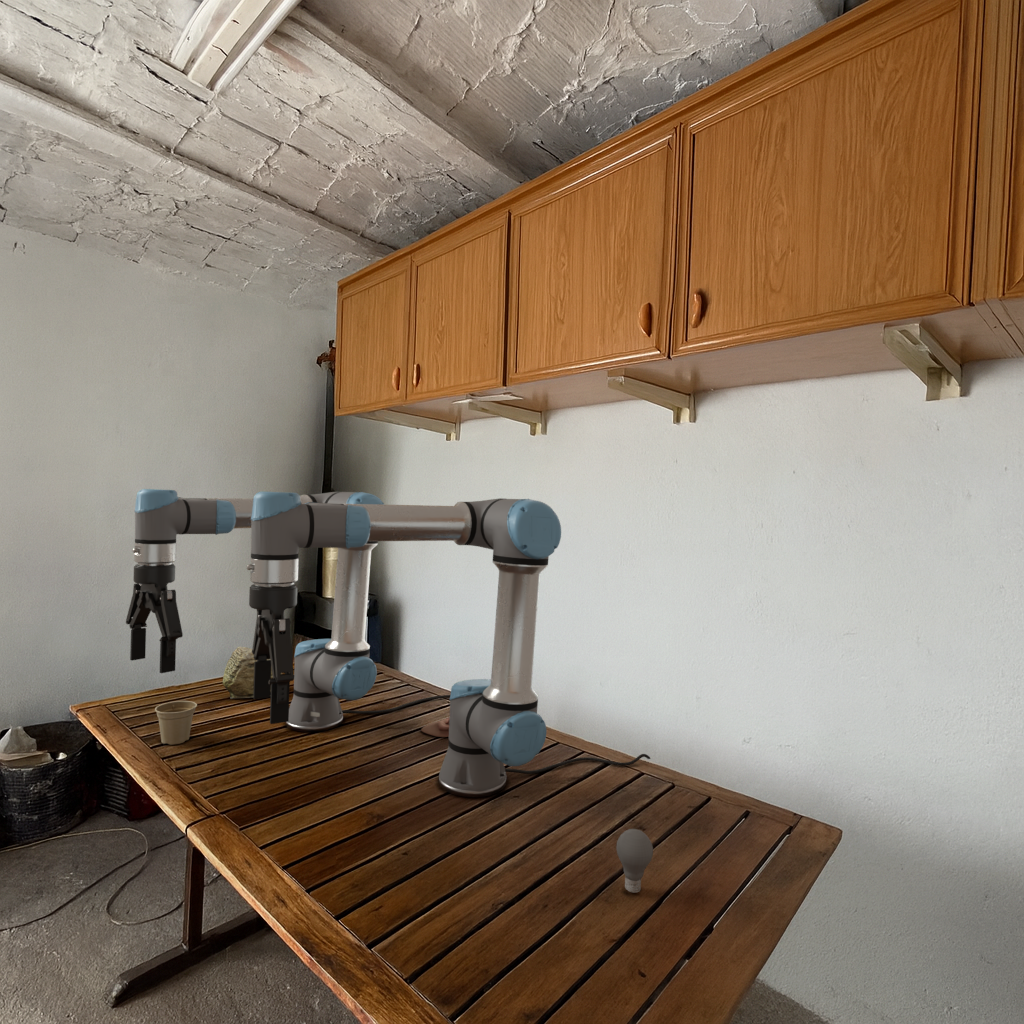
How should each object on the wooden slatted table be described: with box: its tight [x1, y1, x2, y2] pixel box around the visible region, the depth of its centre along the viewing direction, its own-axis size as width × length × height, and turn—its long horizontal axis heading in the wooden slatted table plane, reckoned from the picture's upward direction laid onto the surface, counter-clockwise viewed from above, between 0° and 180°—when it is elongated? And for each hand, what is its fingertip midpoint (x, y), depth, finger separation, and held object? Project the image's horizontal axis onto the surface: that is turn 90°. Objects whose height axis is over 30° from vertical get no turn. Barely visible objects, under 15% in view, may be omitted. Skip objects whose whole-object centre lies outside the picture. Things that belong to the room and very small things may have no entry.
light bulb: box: [615, 828, 654, 894], centre depth 106 cm, size 6×6×10 cm
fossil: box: [222, 646, 283, 699], centre depth 198 cm, size 9×18×15 cm, turn 132°
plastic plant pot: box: [154, 700, 198, 746], centre depth 160 cm, size 9×9×9 cm
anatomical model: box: [420, 716, 450, 738], centre depth 175 cm, size 13×4×12 cm
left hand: (152, 665), depth 132 cm, fingers open, 13 cm apart
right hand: (270, 709), depth 106 cm, fingers open, 13 cm apart
